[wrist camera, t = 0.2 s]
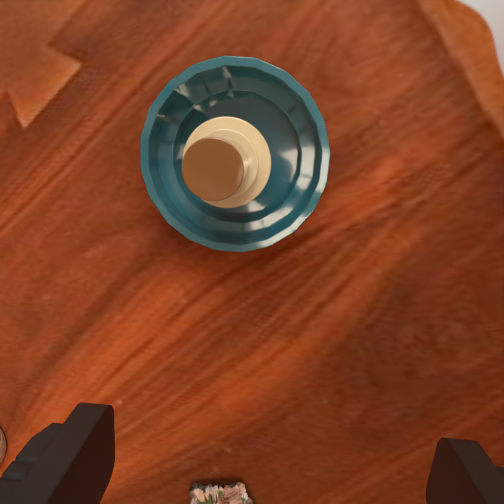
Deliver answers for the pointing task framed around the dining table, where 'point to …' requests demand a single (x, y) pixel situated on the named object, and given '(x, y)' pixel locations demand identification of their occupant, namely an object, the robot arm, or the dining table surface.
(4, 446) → the candle holder
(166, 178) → the bowl
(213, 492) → the stone bird figurine
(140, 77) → the dining table surface
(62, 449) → the robot arm
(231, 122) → the stoneware bottle
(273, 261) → the dining table surface
